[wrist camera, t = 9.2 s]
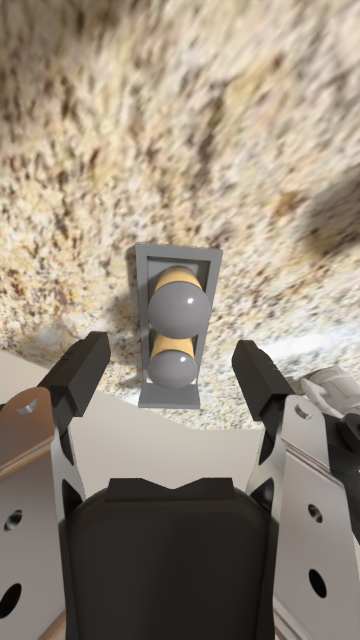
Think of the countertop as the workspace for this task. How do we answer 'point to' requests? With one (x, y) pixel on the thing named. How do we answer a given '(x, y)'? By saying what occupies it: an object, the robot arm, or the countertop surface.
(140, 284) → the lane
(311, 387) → the mug
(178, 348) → the jar
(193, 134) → the countertop surface
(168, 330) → the jar
